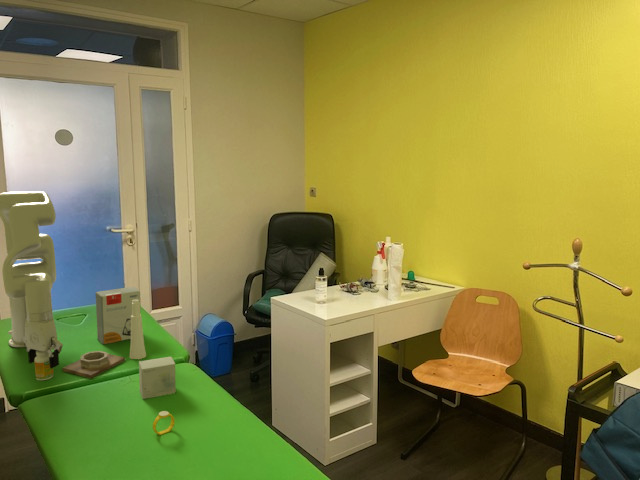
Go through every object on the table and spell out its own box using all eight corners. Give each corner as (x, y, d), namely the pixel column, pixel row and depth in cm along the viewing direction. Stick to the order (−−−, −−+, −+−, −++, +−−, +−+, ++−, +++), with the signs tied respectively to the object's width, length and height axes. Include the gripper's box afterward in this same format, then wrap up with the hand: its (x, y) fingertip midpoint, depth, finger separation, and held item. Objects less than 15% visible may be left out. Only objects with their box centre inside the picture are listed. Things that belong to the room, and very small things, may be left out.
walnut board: (62, 371, 183) (62, 361, 183) (98, 354, 198) (97, 345, 197) (91, 378, 179) (90, 368, 178) (125, 360, 193) (124, 351, 192)
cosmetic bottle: (149, 355, 198) (147, 299, 194) (138, 361, 193) (135, 303, 189) (137, 352, 201) (135, 296, 197) (125, 357, 196) (123, 301, 191)
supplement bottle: (46, 381, 175) (44, 354, 174) (32, 379, 176) (29, 352, 175) (57, 374, 181) (55, 348, 179) (43, 372, 182) (41, 346, 180)
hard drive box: (103, 345, 206) (100, 296, 203) (97, 339, 212) (94, 291, 208) (142, 336, 216) (140, 290, 212) (135, 331, 222) (133, 285, 218)
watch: (170, 427, 151) (171, 408, 150) (175, 432, 149) (176, 412, 148) (151, 434, 147) (151, 413, 146) (155, 438, 145) (156, 417, 144)
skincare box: (142, 400, 165) (141, 368, 163) (139, 391, 171) (138, 361, 169) (176, 393, 170) (175, 363, 168) (172, 385, 176) (171, 355, 174)
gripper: (11, 315, 174) (15, 364, 177) (49, 322, 167) (53, 373, 171) (31, 308, 181) (35, 356, 184) (68, 315, 174) (72, 364, 177)
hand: (44, 364), depth 177 cm, fingers open, 9 cm apart
